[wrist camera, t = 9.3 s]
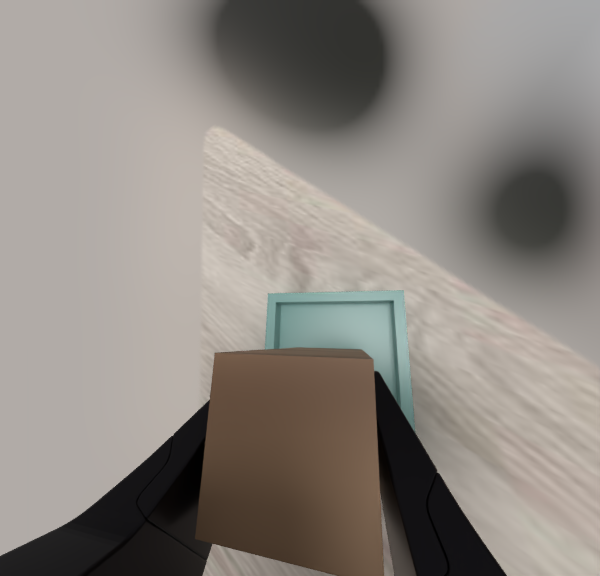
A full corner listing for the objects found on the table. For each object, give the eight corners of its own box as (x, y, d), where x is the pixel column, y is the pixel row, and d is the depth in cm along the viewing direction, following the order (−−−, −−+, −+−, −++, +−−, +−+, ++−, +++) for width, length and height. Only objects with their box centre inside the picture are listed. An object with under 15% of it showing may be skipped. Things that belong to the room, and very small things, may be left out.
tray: (410, 468, 18) (419, 488, 15) (269, 448, 20) (258, 463, 18) (397, 296, 21) (403, 290, 18) (276, 298, 23) (268, 293, 21)
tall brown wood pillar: (364, 421, 15) (384, 588, 5) (296, 414, 16) (194, 539, 6) (361, 349, 16) (373, 359, 6) (298, 347, 17) (214, 352, 7)
